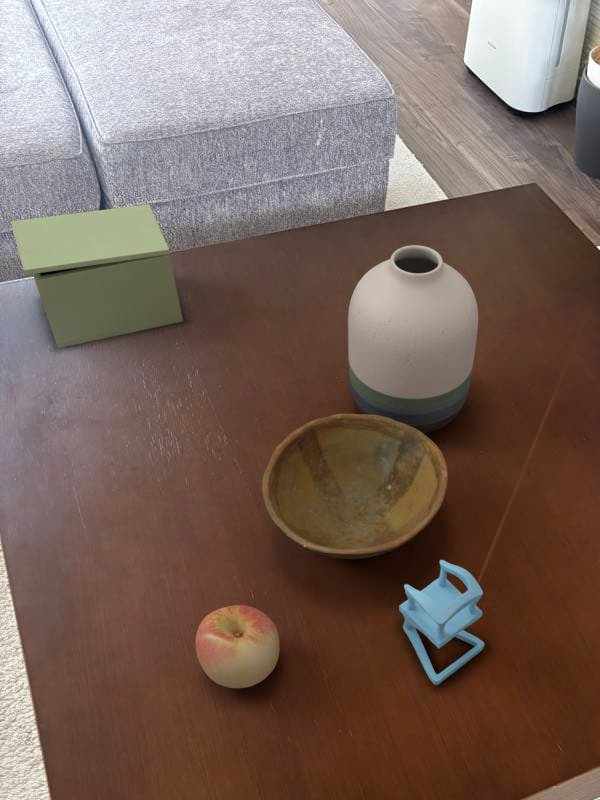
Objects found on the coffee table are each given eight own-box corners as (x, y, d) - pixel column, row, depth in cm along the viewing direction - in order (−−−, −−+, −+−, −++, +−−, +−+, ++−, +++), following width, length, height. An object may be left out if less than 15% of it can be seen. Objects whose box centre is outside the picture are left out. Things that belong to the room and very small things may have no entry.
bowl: (480, 537, 109) (490, 484, 101) (339, 635, 99) (337, 584, 91) (370, 441, 119) (371, 386, 111) (231, 522, 109) (221, 467, 101)
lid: (24, 275, 118) (23, 270, 117) (12, 226, 125) (10, 221, 124) (169, 254, 124) (169, 249, 123) (149, 208, 131) (149, 203, 131)
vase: (393, 352, 131) (398, 206, 112) (488, 398, 125) (511, 252, 107) (325, 414, 122) (318, 266, 103) (424, 466, 116) (437, 320, 97)
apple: (193, 648, 97) (182, 608, 91) (268, 623, 100) (262, 582, 93) (215, 712, 92) (204, 675, 86) (293, 684, 95) (289, 646, 89)
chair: (436, 602, 102) (443, 539, 93) (485, 648, 99) (498, 587, 89) (387, 638, 99) (390, 576, 90) (435, 687, 95) (444, 628, 86)
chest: (58, 349, 128) (34, 280, 119) (44, 300, 135) (21, 231, 126) (183, 322, 133) (170, 254, 124) (163, 276, 140) (149, 209, 131)
